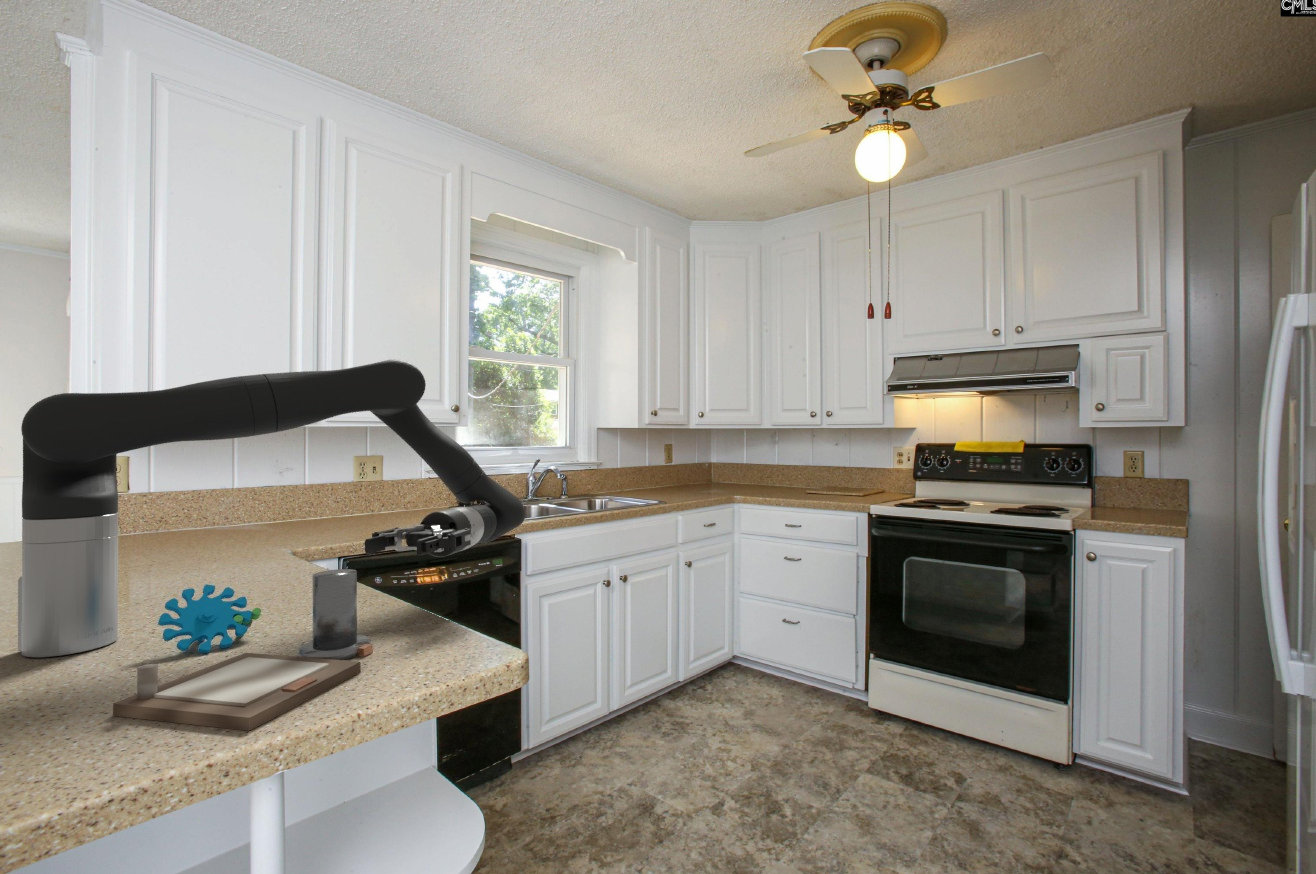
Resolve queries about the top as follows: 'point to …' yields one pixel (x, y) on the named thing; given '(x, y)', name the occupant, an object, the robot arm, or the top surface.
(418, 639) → the top surface
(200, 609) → the gear
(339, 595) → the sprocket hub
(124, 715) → the mount board
